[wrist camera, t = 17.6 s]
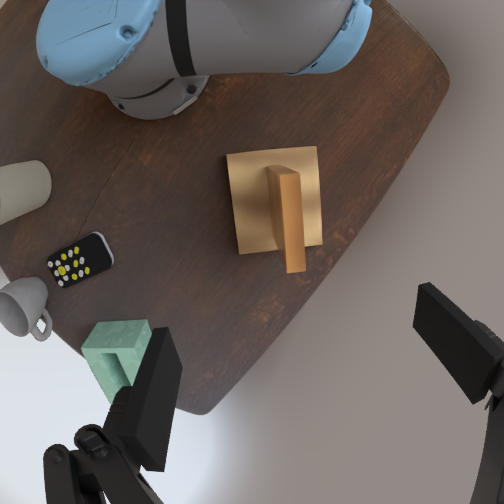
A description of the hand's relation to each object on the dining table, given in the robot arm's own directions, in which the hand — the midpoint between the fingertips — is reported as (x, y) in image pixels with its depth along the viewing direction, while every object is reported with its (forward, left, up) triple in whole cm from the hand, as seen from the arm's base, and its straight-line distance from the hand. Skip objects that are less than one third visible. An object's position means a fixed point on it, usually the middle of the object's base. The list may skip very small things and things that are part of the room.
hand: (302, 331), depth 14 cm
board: (-1, +2, -29) cm, 29 cm away
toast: (-1, +2, -28) cm, 28 cm away
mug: (+10, -42, -29) cm, 52 cm away
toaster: (+23, -26, -29) cm, 45 cm away
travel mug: (-10, -36, -29) cm, 47 cm away
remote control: (+4, -30, -29) cm, 42 cm away
